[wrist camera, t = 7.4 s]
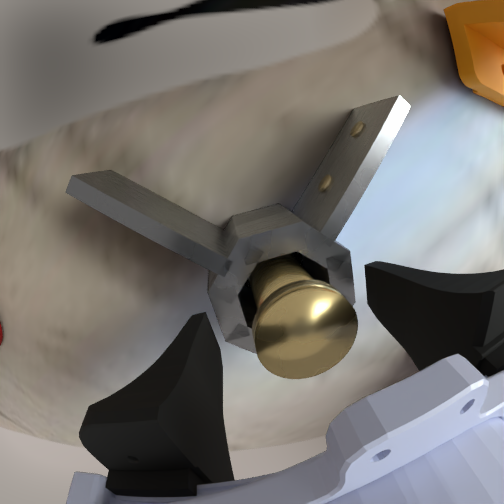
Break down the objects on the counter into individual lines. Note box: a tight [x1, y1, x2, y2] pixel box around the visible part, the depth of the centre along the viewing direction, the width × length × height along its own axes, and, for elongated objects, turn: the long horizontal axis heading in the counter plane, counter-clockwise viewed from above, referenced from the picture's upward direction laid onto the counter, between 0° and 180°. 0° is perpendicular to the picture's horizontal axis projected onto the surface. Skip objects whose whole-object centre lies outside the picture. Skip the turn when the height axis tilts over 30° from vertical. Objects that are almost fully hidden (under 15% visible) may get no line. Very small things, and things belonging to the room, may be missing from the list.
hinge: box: [66, 95, 411, 354], centre depth 14 cm, size 14×14×5 cm
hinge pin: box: [248, 253, 358, 379], centre depth 14 cm, size 4×4×8 cm
